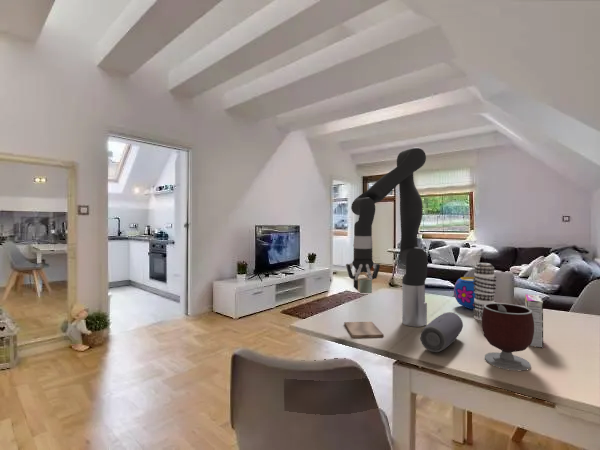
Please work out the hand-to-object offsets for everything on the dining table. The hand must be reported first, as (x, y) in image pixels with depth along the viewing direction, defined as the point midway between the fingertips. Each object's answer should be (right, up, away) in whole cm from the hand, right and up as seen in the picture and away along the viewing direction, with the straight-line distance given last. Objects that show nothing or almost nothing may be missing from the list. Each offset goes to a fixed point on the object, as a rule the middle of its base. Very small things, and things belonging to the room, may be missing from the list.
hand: (362, 288), depth 133 cm
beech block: (0, +2, +7) cm, 7 cm away
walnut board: (0, -17, 0) cm, 17 cm away
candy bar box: (+60, -17, -13) cm, 64 cm away
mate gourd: (+39, -17, -30) cm, 52 cm away
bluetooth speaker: (+26, -17, -16) cm, 35 cm away
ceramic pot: (+62, -16, +33) cm, 72 cm away
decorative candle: (+58, -17, +16) cm, 63 cm away
